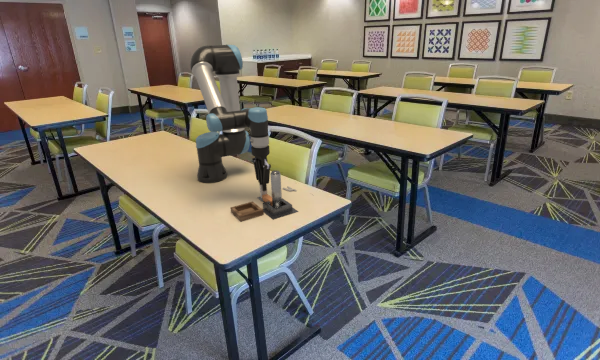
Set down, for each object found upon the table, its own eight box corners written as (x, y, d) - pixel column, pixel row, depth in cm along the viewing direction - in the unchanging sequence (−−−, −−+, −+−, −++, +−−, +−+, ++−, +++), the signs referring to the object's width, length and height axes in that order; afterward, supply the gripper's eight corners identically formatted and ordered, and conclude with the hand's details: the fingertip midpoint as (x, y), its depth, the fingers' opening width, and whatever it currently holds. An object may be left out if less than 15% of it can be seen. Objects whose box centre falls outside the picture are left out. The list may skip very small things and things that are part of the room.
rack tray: (231, 213, 147) (230, 207, 146) (253, 207, 152) (252, 201, 151) (241, 223, 139) (240, 216, 138) (263, 216, 144) (263, 209, 143)
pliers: (297, 199, 155) (276, 189, 166) (297, 202, 156) (276, 192, 167) (314, 193, 161) (293, 184, 172) (314, 196, 162) (293, 187, 172)
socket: (248, 201, 158) (247, 194, 157) (272, 194, 164) (271, 188, 163) (273, 221, 140) (272, 214, 139) (298, 212, 146) (298, 206, 145)
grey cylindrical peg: (271, 208, 149) (268, 171, 143) (279, 206, 151) (277, 169, 145) (275, 212, 146) (273, 174, 140) (284, 209, 148) (282, 172, 142)
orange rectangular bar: (262, 200, 157) (262, 195, 156) (267, 198, 158) (267, 193, 157) (271, 206, 150) (270, 201, 149) (276, 205, 151) (275, 199, 151)
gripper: (245, 143, 152) (249, 193, 161) (259, 150, 142) (263, 204, 151) (261, 140, 156) (264, 189, 165) (275, 147, 146) (278, 199, 154)
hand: (263, 196), depth 158 cm, fingers closed
